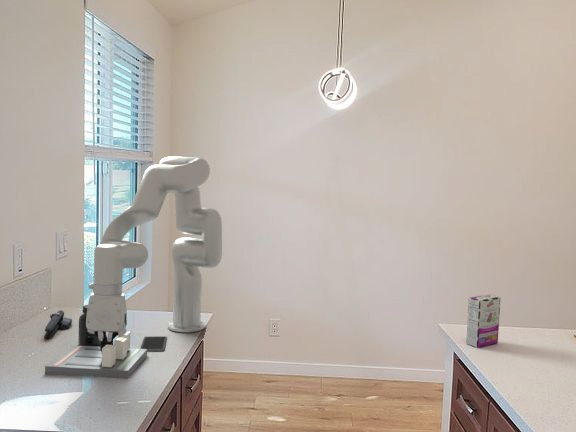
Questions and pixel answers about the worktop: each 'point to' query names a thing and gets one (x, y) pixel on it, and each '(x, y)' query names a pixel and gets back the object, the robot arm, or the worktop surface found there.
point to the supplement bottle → (86, 332)
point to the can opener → (57, 324)
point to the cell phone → (154, 343)
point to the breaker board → (94, 362)
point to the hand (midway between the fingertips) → (106, 353)
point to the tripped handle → (121, 348)
